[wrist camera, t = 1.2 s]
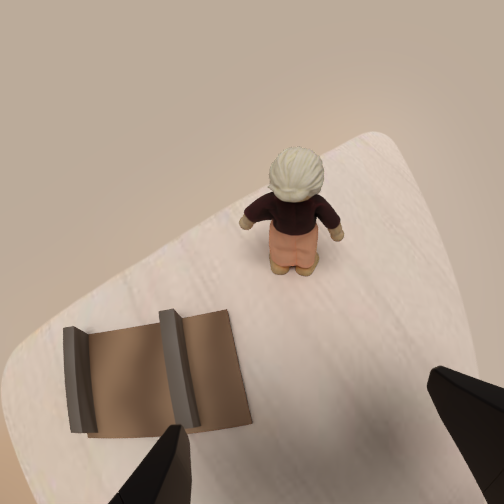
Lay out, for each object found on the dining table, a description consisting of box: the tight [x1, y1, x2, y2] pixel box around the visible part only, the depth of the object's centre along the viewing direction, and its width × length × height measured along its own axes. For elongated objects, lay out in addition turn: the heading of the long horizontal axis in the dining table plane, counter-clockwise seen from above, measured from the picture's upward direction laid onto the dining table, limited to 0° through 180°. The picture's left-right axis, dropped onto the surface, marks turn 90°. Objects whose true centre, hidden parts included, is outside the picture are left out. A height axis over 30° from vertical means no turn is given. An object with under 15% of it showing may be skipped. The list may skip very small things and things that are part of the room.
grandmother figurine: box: [239, 147, 344, 276], centre depth 22 cm, size 8×4×13 cm, turn 93°
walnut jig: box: [63, 309, 252, 438], centre depth 21 cm, size 14×10×3 cm
